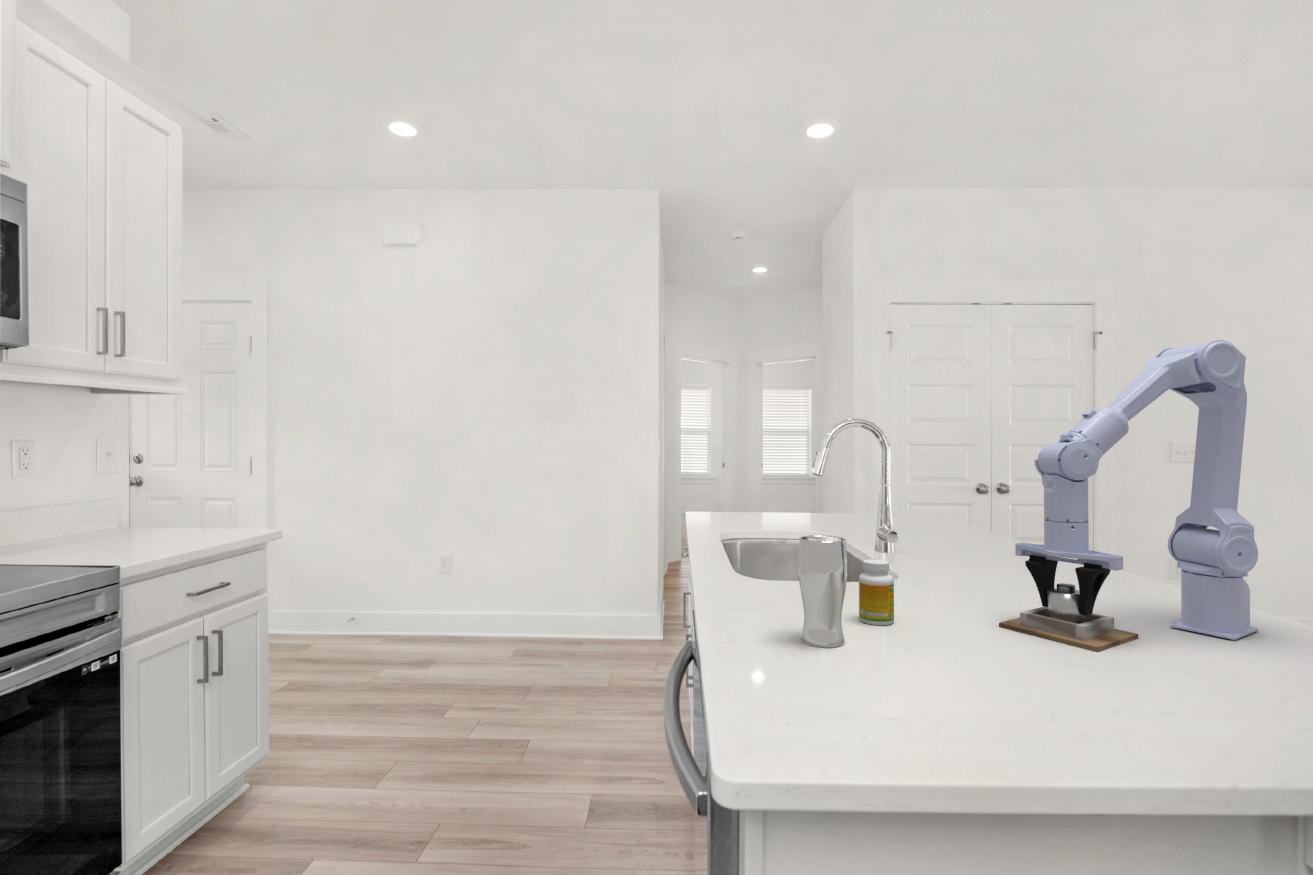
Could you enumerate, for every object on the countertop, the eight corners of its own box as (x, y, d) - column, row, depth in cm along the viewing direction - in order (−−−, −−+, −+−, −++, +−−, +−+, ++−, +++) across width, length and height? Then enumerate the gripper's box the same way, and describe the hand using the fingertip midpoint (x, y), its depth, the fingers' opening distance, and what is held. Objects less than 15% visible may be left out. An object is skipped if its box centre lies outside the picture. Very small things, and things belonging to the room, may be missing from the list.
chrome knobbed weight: (1061, 618, 101) (1059, 580, 101) (1094, 626, 96) (1092, 586, 96) (1041, 623, 98) (1039, 583, 99) (1074, 630, 94) (1072, 589, 94)
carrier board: (1041, 615, 106) (1040, 600, 106) (1138, 637, 94) (1138, 620, 94) (998, 626, 100) (998, 610, 100) (1097, 651, 88) (1097, 632, 88)
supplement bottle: (896, 627, 100) (896, 565, 100) (860, 625, 101) (860, 563, 101) (891, 617, 106) (890, 558, 106) (857, 616, 107) (857, 557, 107)
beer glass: (794, 645, 91) (794, 540, 91) (802, 632, 98) (802, 533, 98) (845, 651, 89) (844, 543, 89) (849, 637, 95) (849, 536, 95)
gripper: (1004, 517, 102) (1004, 602, 102) (1105, 527, 89) (1106, 625, 89) (1029, 514, 105) (1029, 597, 105) (1130, 524, 93) (1130, 618, 93)
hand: (1066, 609), depth 97 cm, fingers closed on chrome knobbed weight, 5 cm apart
